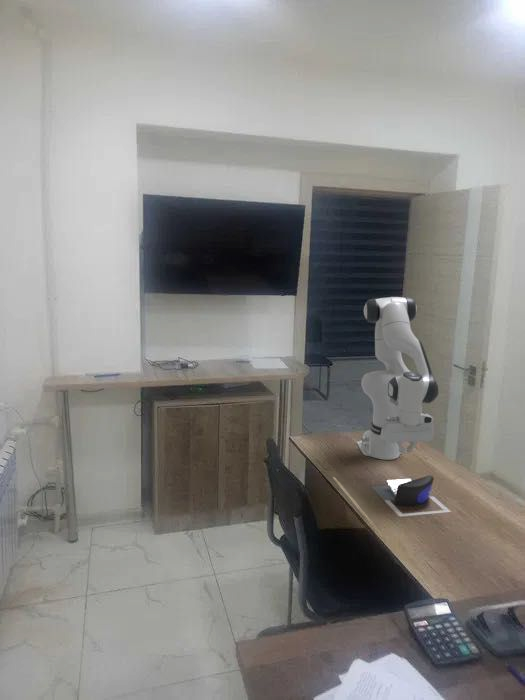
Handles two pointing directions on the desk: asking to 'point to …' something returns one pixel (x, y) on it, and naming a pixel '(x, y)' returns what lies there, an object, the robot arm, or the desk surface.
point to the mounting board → (387, 496)
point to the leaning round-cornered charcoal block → (414, 492)
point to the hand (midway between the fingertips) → (405, 452)
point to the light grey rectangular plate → (395, 484)
